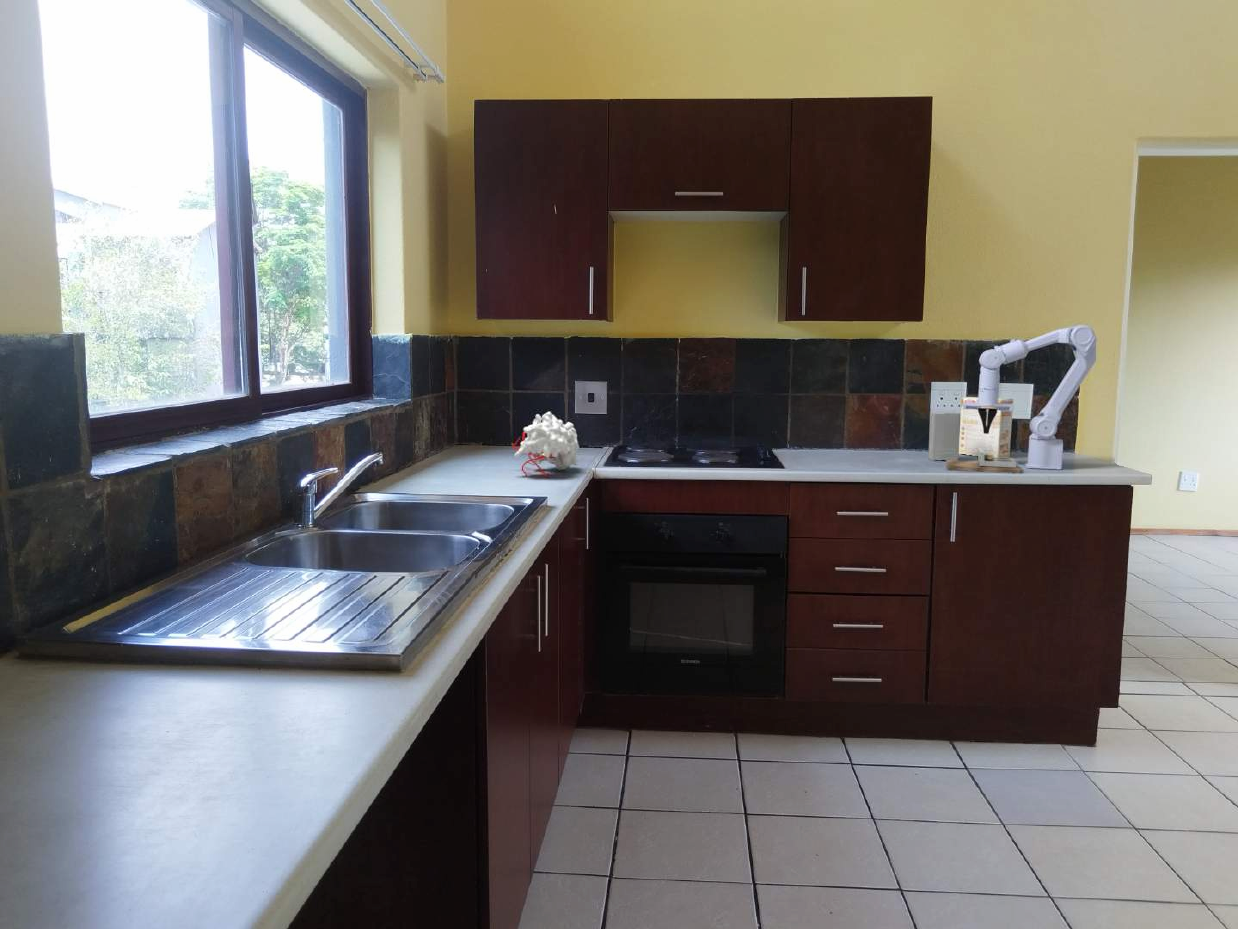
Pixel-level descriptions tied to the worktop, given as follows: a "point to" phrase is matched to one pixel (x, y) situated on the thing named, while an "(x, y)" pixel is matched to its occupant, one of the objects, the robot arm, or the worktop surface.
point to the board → (975, 466)
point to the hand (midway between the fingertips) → (986, 433)
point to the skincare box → (944, 435)
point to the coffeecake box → (973, 431)
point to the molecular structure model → (549, 443)
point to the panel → (995, 460)
